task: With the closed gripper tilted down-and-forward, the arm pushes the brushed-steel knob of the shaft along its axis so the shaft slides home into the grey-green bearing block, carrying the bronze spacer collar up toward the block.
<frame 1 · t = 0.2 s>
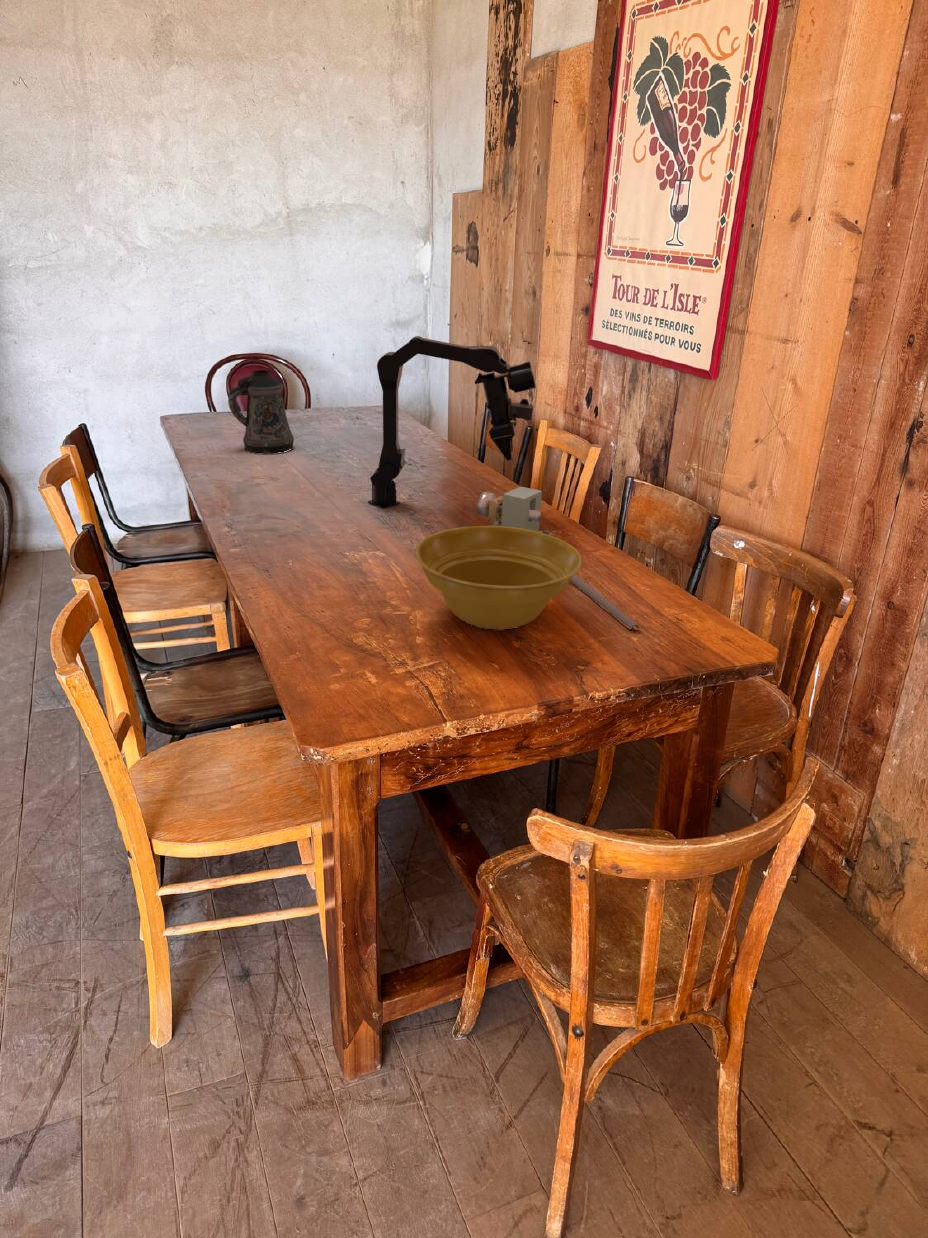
hand: (510, 455, 222), 15 cm above the table, tool tilted 15°, fingers open, 9 cm apart
shaft: (510, 509, 208), point 7 cm above the table, slide at 0.0 cm, touching spacer collar
metal rod: (600, 606, 175), on the table
spacer collar: (496, 531, 213), touching shaft
beer stein: (265, 449, 280), on the table
planter bowl: (494, 616, 167), on the table
bearing block: (519, 537, 210), on the table
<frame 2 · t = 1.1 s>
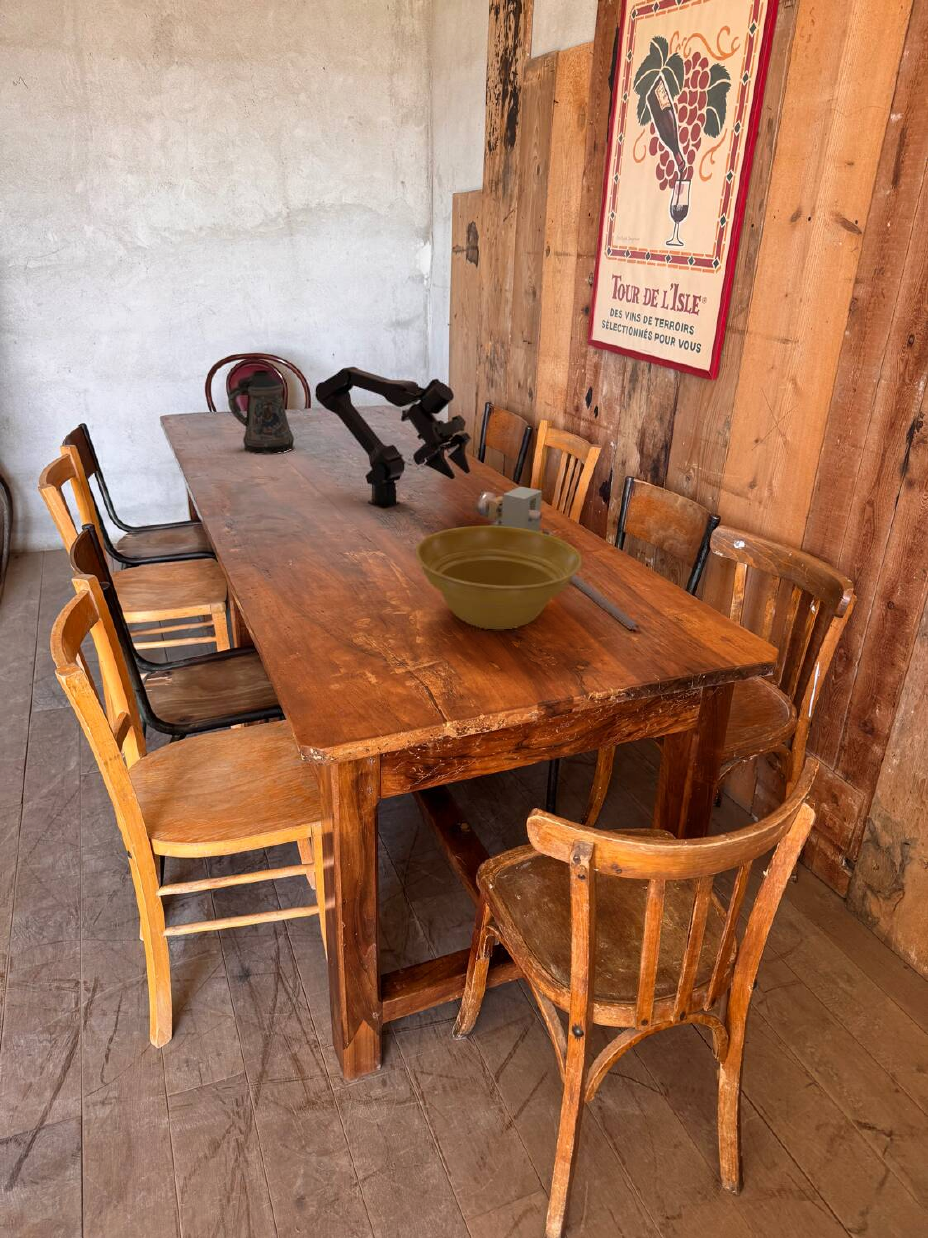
hand: (461, 475, 213), 12 cm above the table, tool tilted 45°, fingers open, 7 cm apart
nothing on the table moved.
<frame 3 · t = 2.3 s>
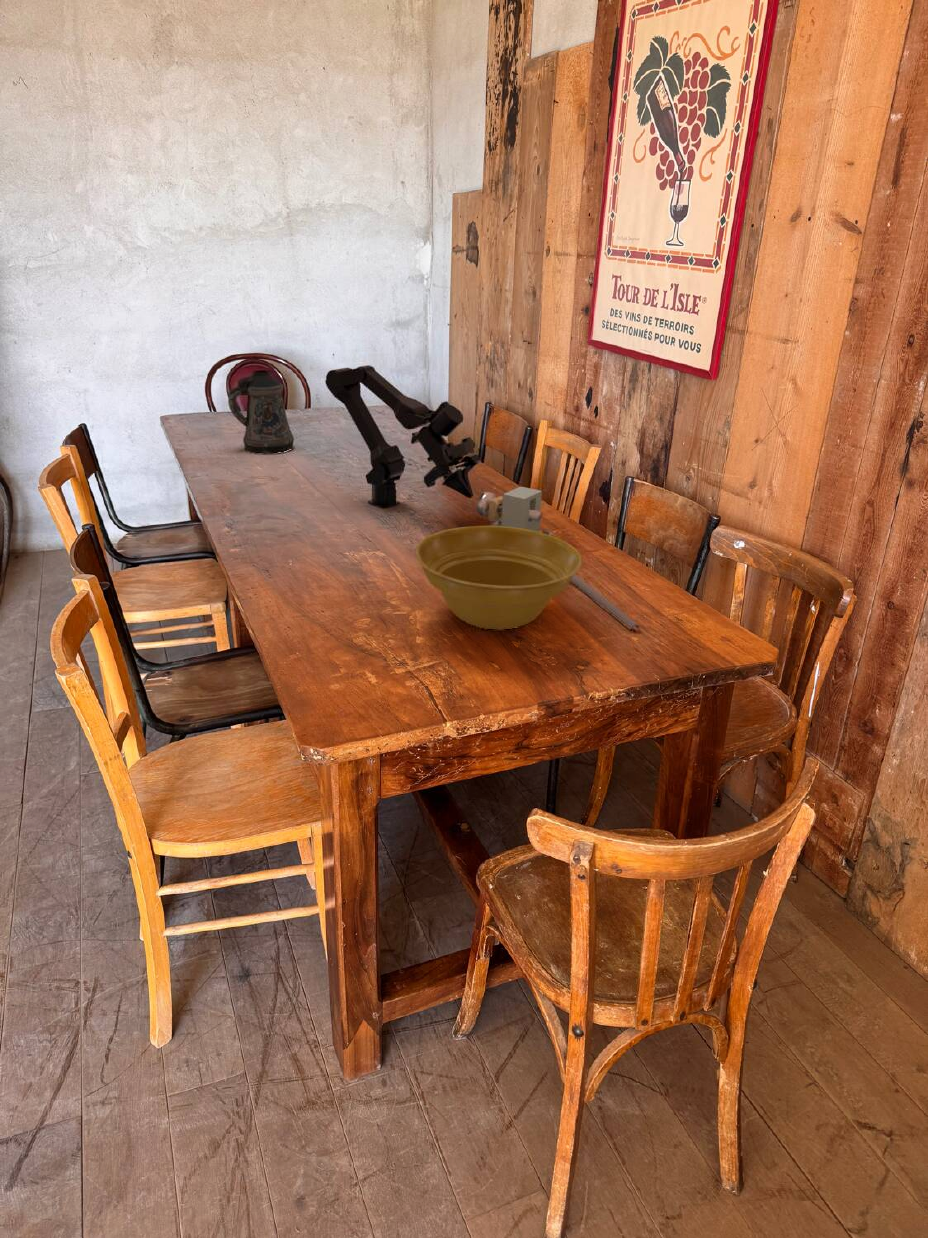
hand: (471, 497, 214), 7 cm above the table, tool tilted 45°, fingers closed
nothing on the table moved.
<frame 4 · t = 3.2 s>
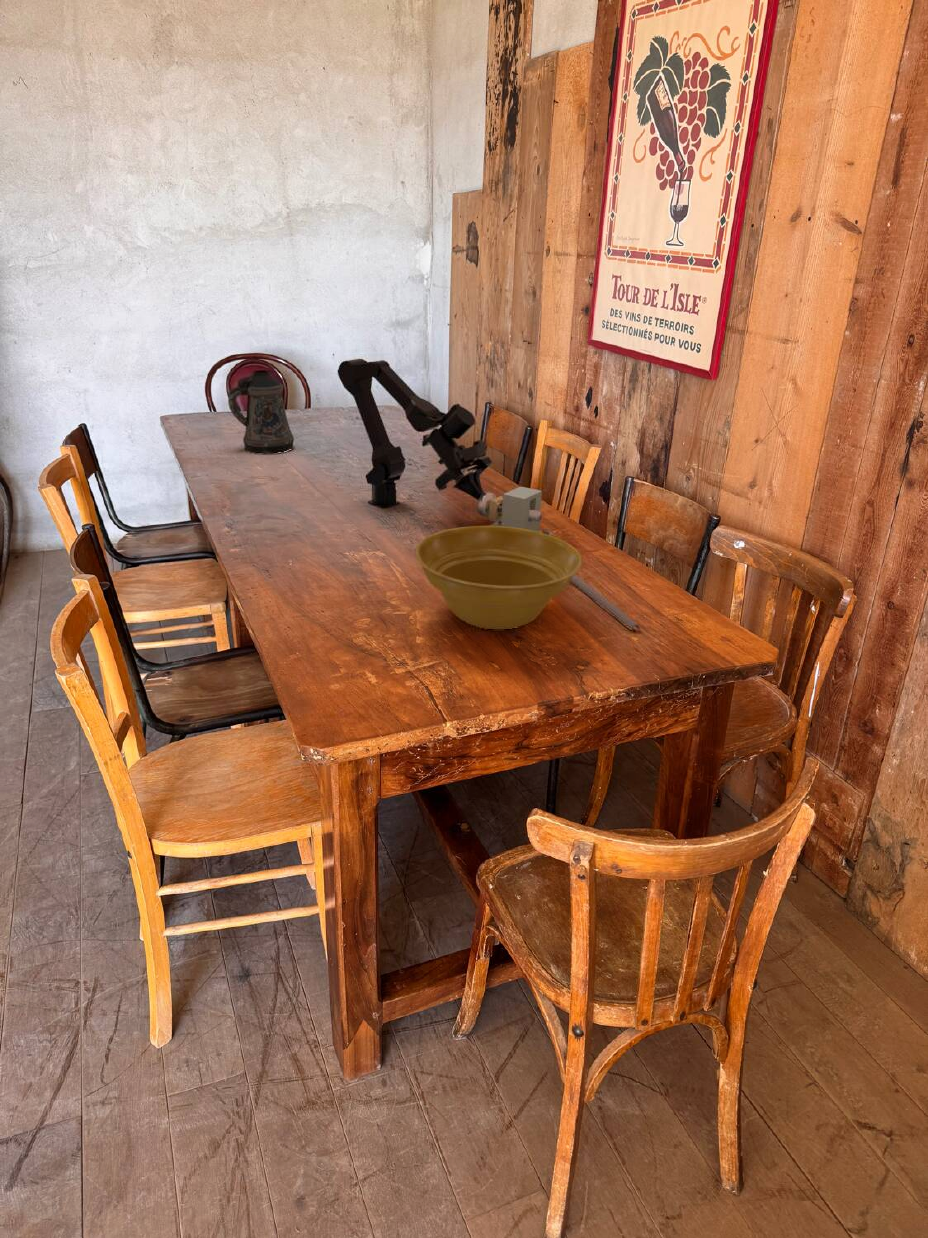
hand: (483, 500, 212), 7 cm above the table, tool tilted 45°, fingers closed, pressing on shaft
shaft: (511, 509, 208), point 7 cm above the table, slide at 0.1 cm, touching gripper, spacer collar
everything else where it was.
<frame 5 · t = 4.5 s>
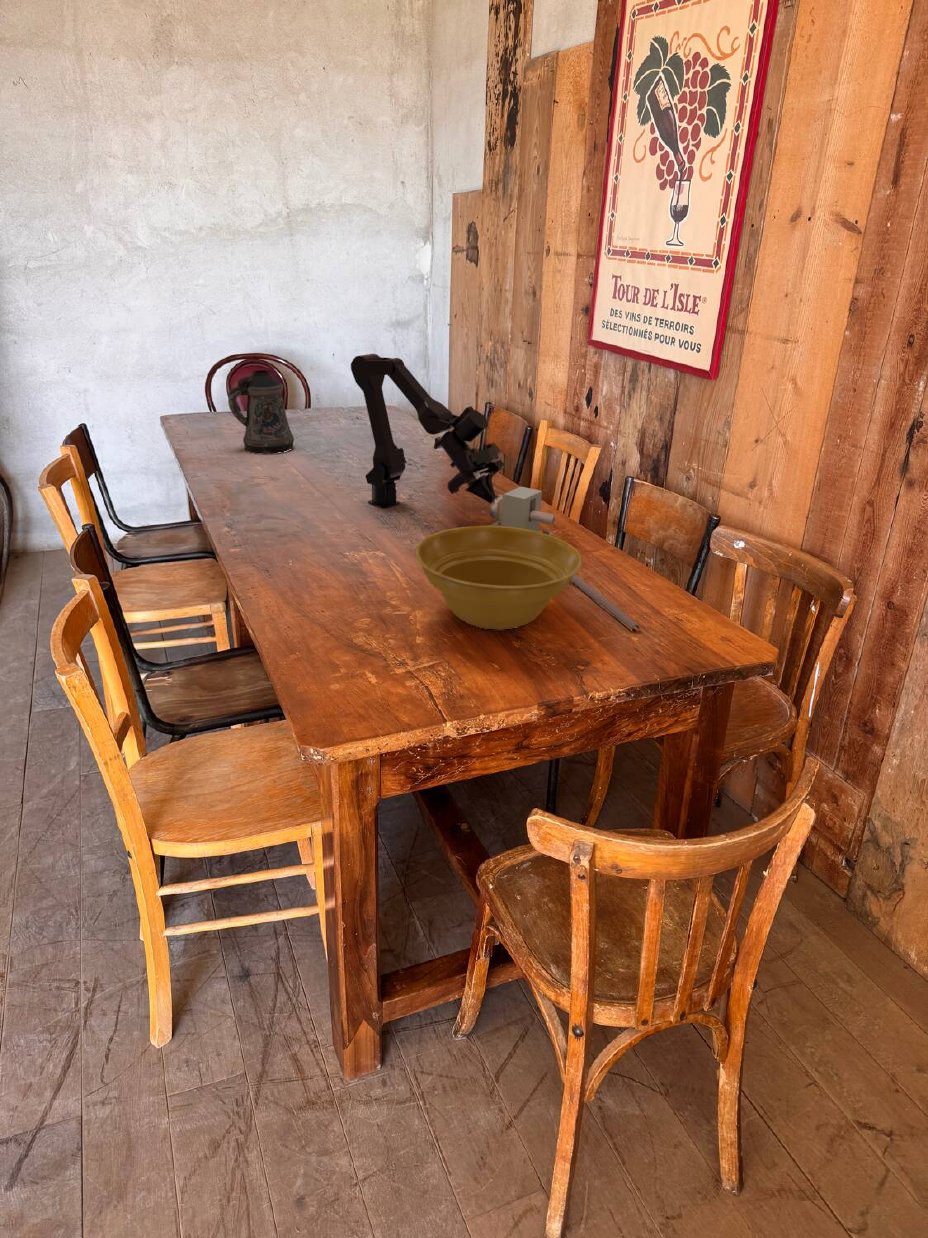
hand: (495, 503, 210), 7 cm above the table, tool tilted 45°, fingers closed, pressing on shaft
shaft: (523, 512, 207), point 7 cm above the table, slide at 3.7 cm, touching gripper, spacer collar
spacer collar: (505, 534, 212), resting on bearing block, touching shaft
everything else where it was.
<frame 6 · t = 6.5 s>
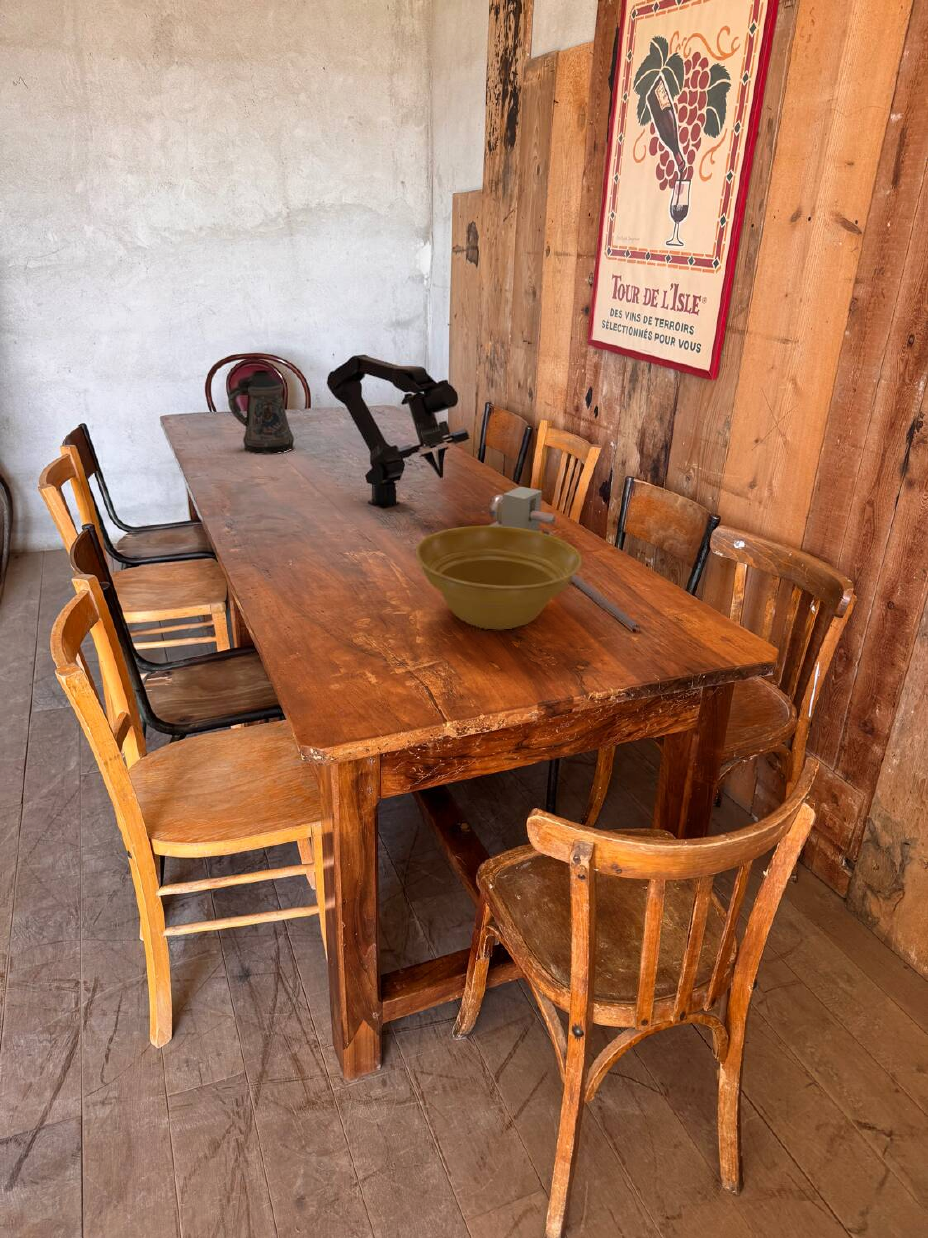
hand: (441, 477, 215), 11 cm above the table, tool tilted 25°, fingers closed
shaft: (523, 512, 207), point 7 cm above the table, slide at 3.7 cm, touching spacer collar
everything else where it was.
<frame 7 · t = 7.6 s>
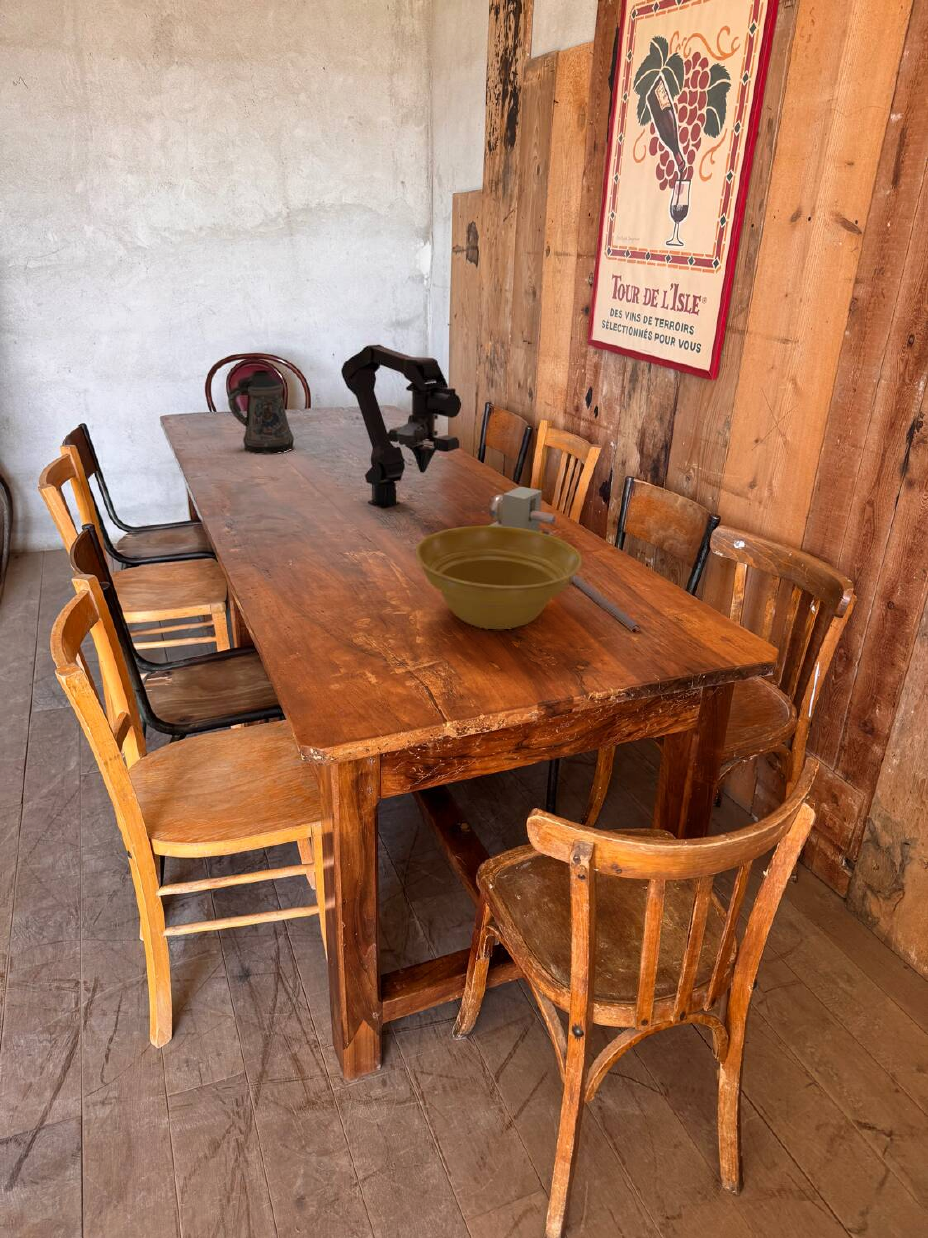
hand: (422, 472, 216), 12 cm above the table, tool pointing down, fingers closed
nothing on the table moved.
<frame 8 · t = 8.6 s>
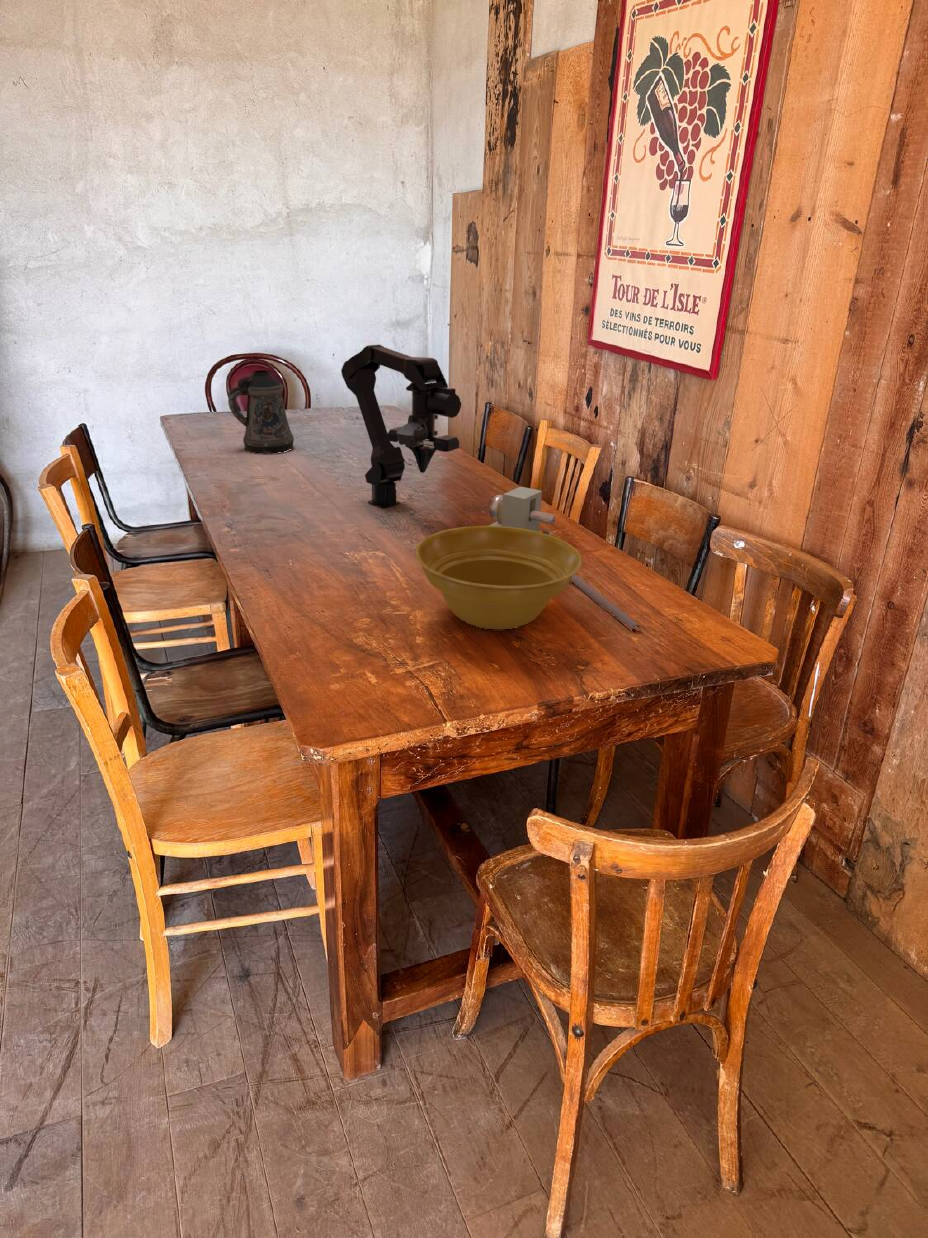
hand: (422, 472, 216), 12 cm above the table, tool pointing down, fingers closed
nothing on the table moved.
at the end: shaft slide at 3.7 cm; spacer collar 0.6 cm from the target spot on the bearing block, point 0.0 cm above the bearing block's base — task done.
